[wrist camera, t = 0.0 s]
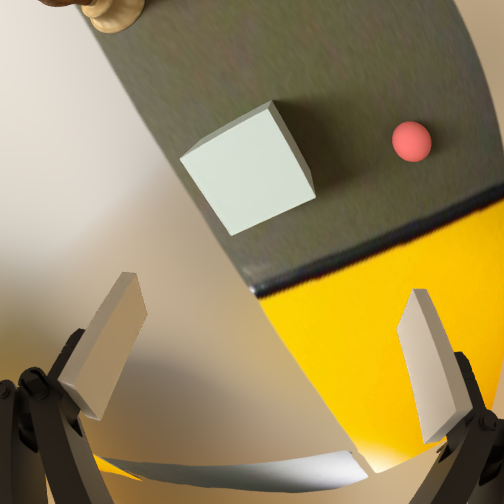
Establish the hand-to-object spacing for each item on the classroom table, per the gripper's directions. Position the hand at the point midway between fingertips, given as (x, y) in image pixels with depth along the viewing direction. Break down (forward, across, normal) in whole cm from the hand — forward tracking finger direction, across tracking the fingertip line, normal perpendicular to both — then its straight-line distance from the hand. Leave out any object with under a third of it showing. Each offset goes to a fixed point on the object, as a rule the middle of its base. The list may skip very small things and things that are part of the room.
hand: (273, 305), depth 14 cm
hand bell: (+28, -21, +21) cm, 41 cm away
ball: (+26, +16, +3) cm, 30 cm away
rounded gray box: (+28, -3, -1) cm, 28 cm away
